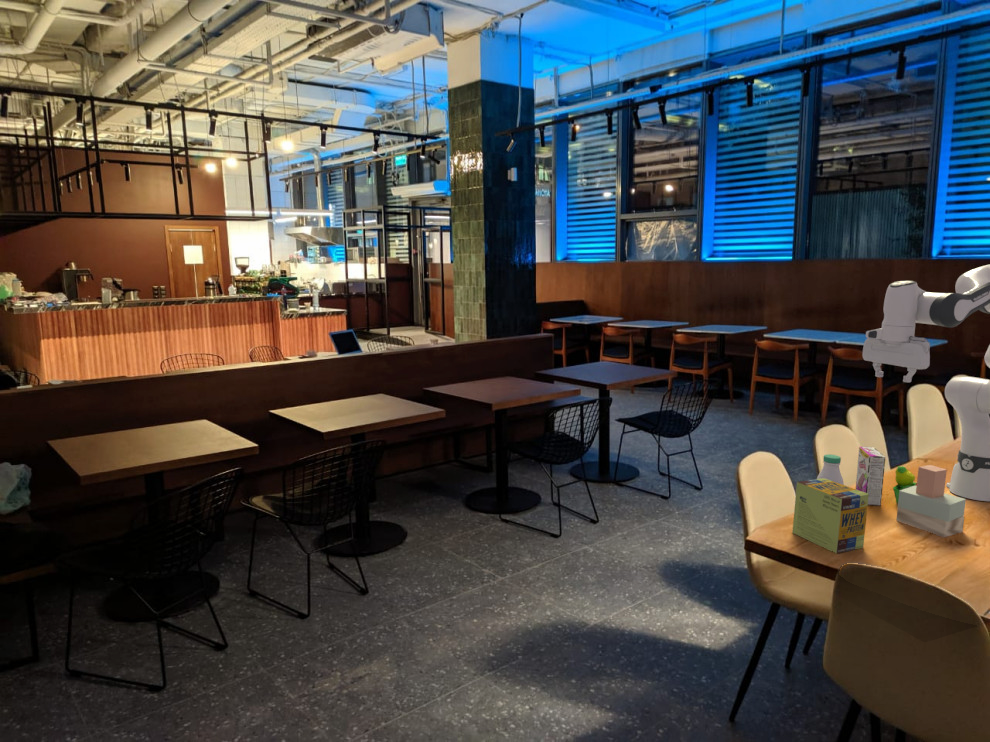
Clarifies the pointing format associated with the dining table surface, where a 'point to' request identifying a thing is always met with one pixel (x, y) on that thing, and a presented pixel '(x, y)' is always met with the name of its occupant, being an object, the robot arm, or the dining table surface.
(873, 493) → the candy bar box
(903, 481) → the green toy figure
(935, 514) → the tower top
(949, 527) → the tower base
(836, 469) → the milk bottle
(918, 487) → the block
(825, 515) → the protein box
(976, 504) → the dining table surface
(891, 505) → the dining table surface
